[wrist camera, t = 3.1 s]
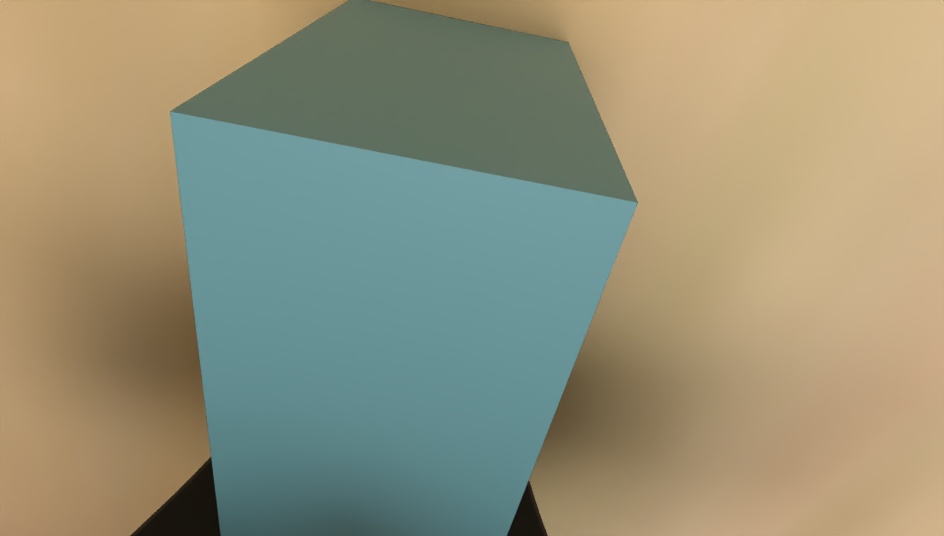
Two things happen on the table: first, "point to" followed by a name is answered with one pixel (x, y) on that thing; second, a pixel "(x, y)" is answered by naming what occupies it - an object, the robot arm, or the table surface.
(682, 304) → the table surface
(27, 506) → the table surface
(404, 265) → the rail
